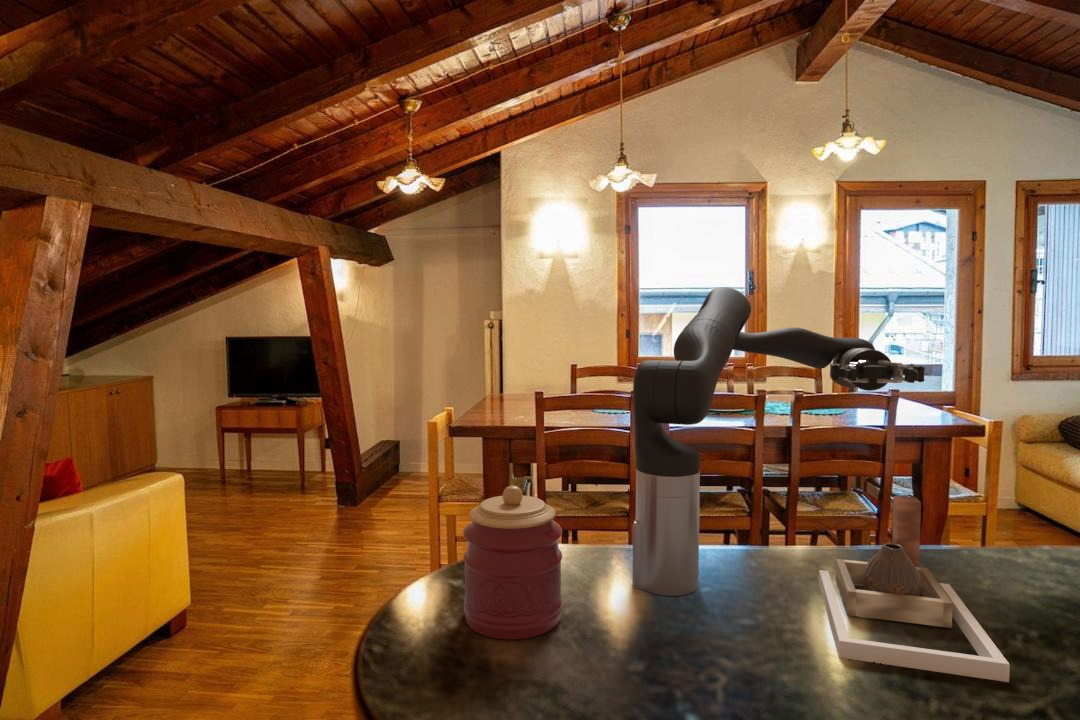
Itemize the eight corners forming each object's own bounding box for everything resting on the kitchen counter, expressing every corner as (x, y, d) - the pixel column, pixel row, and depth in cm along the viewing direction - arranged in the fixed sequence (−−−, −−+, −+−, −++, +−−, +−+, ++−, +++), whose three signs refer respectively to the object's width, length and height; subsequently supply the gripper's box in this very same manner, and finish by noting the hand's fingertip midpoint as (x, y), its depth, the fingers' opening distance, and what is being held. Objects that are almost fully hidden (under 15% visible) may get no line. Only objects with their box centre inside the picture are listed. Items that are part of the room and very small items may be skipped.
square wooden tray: (847, 614, 85) (849, 525, 84) (831, 566, 101) (832, 491, 100) (951, 628, 81) (955, 534, 80) (917, 575, 98) (919, 497, 97)
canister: (443, 619, 84) (441, 487, 83) (513, 588, 94) (512, 469, 93) (512, 653, 76) (512, 506, 75) (582, 616, 85) (582, 485, 84)
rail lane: (839, 657, 75) (839, 640, 74) (819, 583, 95) (819, 570, 95) (1008, 682, 69) (1009, 664, 69) (948, 598, 90) (949, 584, 90)
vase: (929, 623, 83) (931, 557, 82) (871, 618, 84) (873, 553, 84) (909, 600, 90) (911, 538, 89) (856, 596, 91) (857, 535, 90)
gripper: (824, 347, 122) (835, 352, 107) (909, 348, 118) (933, 353, 102) (823, 387, 122) (834, 397, 107) (907, 389, 118) (931, 400, 103)
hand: (883, 375), depth 105 cm, fingers open, 8 cm apart
